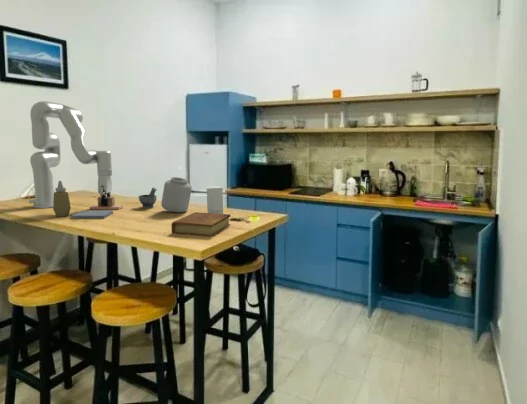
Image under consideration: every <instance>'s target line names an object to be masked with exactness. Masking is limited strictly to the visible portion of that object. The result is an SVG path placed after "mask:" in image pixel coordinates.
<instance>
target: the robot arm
mask: <svg viewBox="0 0 527 404" xmlns="http://www.w3.org/2000/svg"><path fill="white" fill-rule="evenodd" d="M47 118H55V119H59V121H60V122H61V124H62V126H63V127H64V129H65V131H66V132H67V134H68V136H69V138H70V145H71V148H70V149H72V150H71V151H72V153H73V154H74V156H75V158H76V159H77V160H78V162H79V163H81V164H83V165H91V164H96V168H97V170H96V171H97V172H96V173H97V176H98V178H97V192H98V194H99V195H100V197H101V204H102V206H107V205H108V201H107V197H112V195H111V192H112V190H113V187H112V185H113V184H112V177H111V176H112V175H113V172H112V171H113V170H112V169H113V168H112V153H111V151H109V150H94V149H91V150H89V149H88V150H87V147H86V146H85V145H84V141H83V137H84V136H85V134H86V130H85V128H84V127H83V125H82V122H83V118H84V117H83V114H82V112H81V111H80V110H79V109H77V108H74V107H71V106H68V105H65V104H62V103H59V102H52V101H46V100H45V101H44V100H42V101H41V100H40V101H37V102H36V103H34V104H33V105H32V106H31V108H30V120H31V121H30V123H31V140H32V141H31V142H32V146H33V147H34V148H36V149H37V150H44V151H36V152H34V153H33V154H31V156H30V158H29V163H30V165H31V169H32V174H33V186H34V198H33V199H28V203H29V204H33V205H32V207H33V208H37V209H45V208H46V209H47V208H48V209H49V208H53V200H54V193H55V190H54V179H53V173H52V170H51V169H50V168H55V167H58V166H59V165H60V163H61V141H60V138H59V136H57V134H55V133H53V132H50V125H49V122H48V120H47Z"/></svg>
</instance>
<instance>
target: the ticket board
mask: <svg viewBox="0 0 527 404" xmlns="http://www.w3.org/2000/svg"><path fill="white" fill-rule="evenodd" d="M112 214H114V210H111V209H103V210H102V209H98V210H97V209H93V210H92V209H89V210H86V209H85V210H80V211H78V212H76V213H74V214H72V215H70V219H75V220H76V219H79V220H81V219H87V220H88V219H90V220H92V219H94V220H95V219H96V220H97V219H98V220H99V219H102V220H103V219H104V220H105V219H106V218H108V217H109V216H111V215H112Z"/></svg>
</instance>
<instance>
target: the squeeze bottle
mask: <svg viewBox="0 0 527 404" xmlns="http://www.w3.org/2000/svg"><path fill="white" fill-rule="evenodd" d="M71 208H72V207H71V202H70V197H69V193H68V192H67V188H66V187H64V185H63V182H62V180H58V184H57V187H55V190H54V200H53V207H52V210H53V212H54V214H55V216H56V217H67V216H69V215H70V212H71Z"/></svg>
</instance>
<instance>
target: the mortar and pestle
mask: <svg viewBox="0 0 527 404" xmlns="http://www.w3.org/2000/svg"><path fill="white" fill-rule="evenodd" d="M157 190H158V189H157V188H156V187H152V188H151V191H150V192H149V194H141V195H138V201H139V204H141V205H142V206H141V207H142V208H143V209H153V208H154V205H155V203H156V202H157V195H156V194H155V193H156V191H157Z"/></svg>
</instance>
